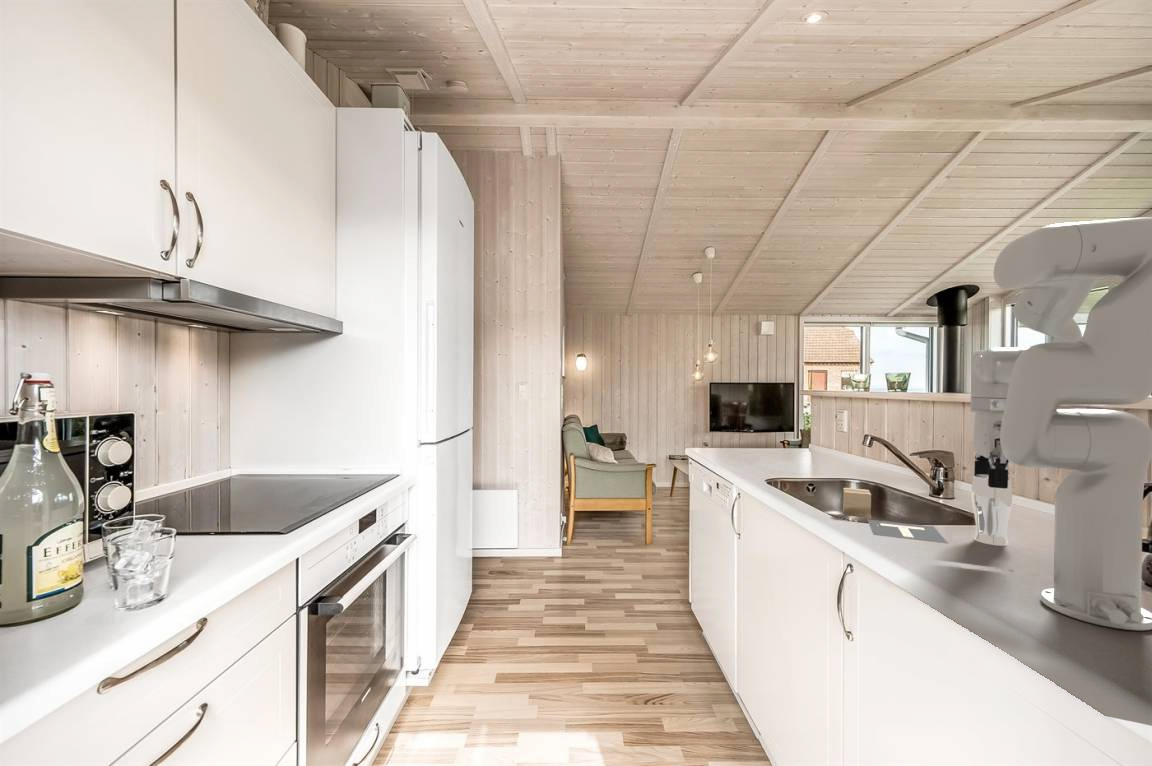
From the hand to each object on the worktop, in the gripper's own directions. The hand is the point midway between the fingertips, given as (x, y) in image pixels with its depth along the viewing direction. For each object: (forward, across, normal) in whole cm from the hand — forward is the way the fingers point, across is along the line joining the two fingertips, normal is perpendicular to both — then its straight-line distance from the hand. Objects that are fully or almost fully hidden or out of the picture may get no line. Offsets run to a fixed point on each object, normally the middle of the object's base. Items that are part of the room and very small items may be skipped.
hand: (990, 482), depth 112 cm
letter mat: (+14, 0, +16) cm, 21 cm away
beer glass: (+14, -1, 0) cm, 14 cm away
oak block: (+14, +12, +25) cm, 31 cm away
